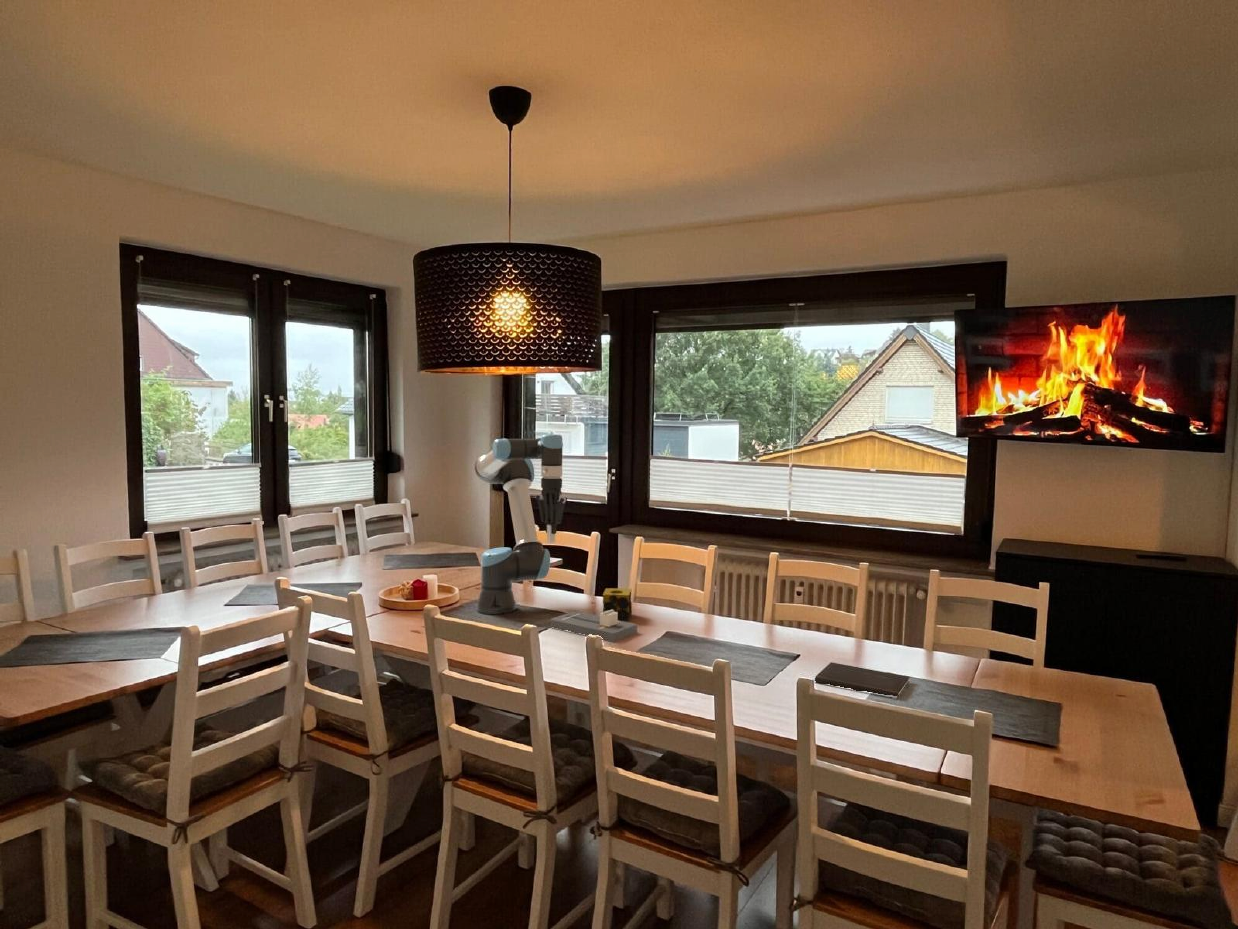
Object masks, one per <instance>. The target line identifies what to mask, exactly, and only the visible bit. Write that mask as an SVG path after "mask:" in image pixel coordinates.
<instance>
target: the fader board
mask: <svg viewBox="0 0 1238 929" xmlns="http://www.w3.org/2000/svg"><path fill="white" fill-rule="evenodd" d="M550 627H554V628H558V629H561V630H560V631H563V630H568V631H571V632H574V633H573V634H576V633H581V634H585V637H587V636H586V635H589V634H592V635H599V636H601V637H602V638H603V639H604V640H603V641H606V642H607V641H608V642H611V643H616V642H619V641H621V640H623V639H625V638H627V637H630V636H633V635H635V634H638V624H637V623H632V622H629V621H619V620H617V624H615V625H612V626H610V627H608V626H603V625H600V615H595V614H590V613H586V612H585V613H584V612H580V611H575V610H574V611H571V612H568V613H564V614H562V615H558V616H555V617H552V618H550V619H549V628H550ZM554 628H553V629H554ZM558 629H557V630H558ZM571 632H570V633H571Z"/></svg>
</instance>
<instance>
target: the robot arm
mask: <svg viewBox="0 0 1238 929" xmlns="http://www.w3.org/2000/svg"><path fill="white" fill-rule="evenodd" d="M563 446H564V443H563V436H562V435H561V434H555V433H553V434H549V433H548V434H542V436H541V437H540V438H497V439H495V440H494V441H493V443H492V450H490V452H488V454H487V453H486V454H483V455H481V456H480V457H478V459H476V461H475V464H474V472H475V474H476V476H477V477H478V478H479V480H482V482H485V483H488V484H491V485H492V484H494V485H498V484H499V485H500V484H501V485H502V488H503V491H505V492H507V495H508V496H507V497H508V502H509V508H510V515H511V520H512V525H513V526H512V527H513V531H514V532H513V533H514V538H515V543H516V544H515V546H514V547H513V549H512V548H511V547H505V546H504V547H502V546H501V547H495V548H491V549H490V548H489V549H487V550H485V551H484V552H483V553H482V554H481V558H480V561H481V562H480V566H481V568H480V575H481V576H480V582H481V583H480V584H481V586H480V593H479V596H478V600H477V601H476V612H479V613H480V614H481V613H482V614H487V615H502V613H504V614H508V613H512V611H513V612H514V610H515V609H516V610H517V602H516V600H515V596H514V592H513V586H512V583H513V582H519V581H520V582H523V581H537V580H542V579H545V578H546V577H547V576H548V574H549V572H550V568H551V567H550V566H551V553H550V551H549V549H547V548H544V546H543V543H542V542H541V541H540V540H538V534H537V533H538V532H537V529H536V523H535V522H536V521H535V517H534V512H533V507H532V502H531V494H530V490H529V489H530V488H531V486H532V483H533V482H534V480H535V467H534V465H533V461H532V460H541V464H540V465H541V466H540V467H541V468H540V469H541V470H540V472H541V473H540V475H541V479H540V487H541V493H540V494H539V495H536V496H535V499H536V501H537V505H538V509H539V516H540V521H541V523H544V524H545V533H546V543H547V544H553V543H556V534H557V526H558V524H562V521H563V515H564V510H565V506H566V503H567V502H568V498H567V497H564V496H563V493H562V488H563V478H562V477H563V450H564V448H563ZM516 610H515V611H516Z"/></svg>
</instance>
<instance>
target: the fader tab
mask: <svg viewBox="0 0 1238 929" xmlns="http://www.w3.org/2000/svg"><path fill="white" fill-rule="evenodd" d="M599 616H600V625H603V626H608V627H610V626H612V625H615V624H617V619H618V612H614V610H608V611H605V612H603V611H602V612H600V613H599Z"/></svg>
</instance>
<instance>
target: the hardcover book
mask: <svg viewBox="0 0 1238 929" xmlns="http://www.w3.org/2000/svg"><path fill="white" fill-rule="evenodd" d="M910 678H911V677H910V676H908V675H902V674H897V673H892V672H886V671H880V670H875V669H870V668H866V667H859V666H853V665H848V664H843V663H838V662H832V661H831V662H829V664H827V665H826V666H825V667H824V668H823V669H822V670H821V671H820V672H819V673H817V674H816V675H815V676H814V682H815V681H816V683H815V684H818V685H823V684H830V685H833V686H840V687H844V688H851V689H853V690H856V691H855V692H857V691H867V692H873V693H878V694H884V695H893V696H898V694H899V692H900V691H901V690H902V688H903V687H904V685H905V684H906V683H907V681H908V682H909V679H910ZM833 686H832V687H833Z"/></svg>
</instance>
